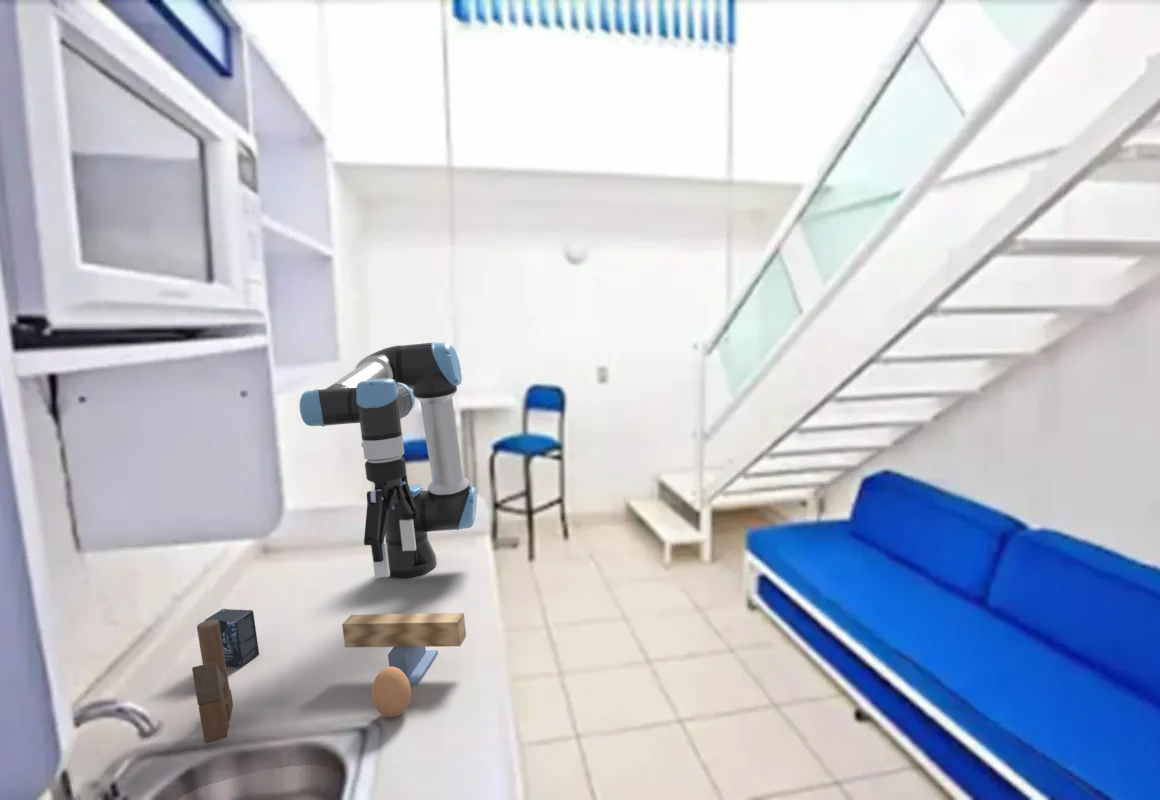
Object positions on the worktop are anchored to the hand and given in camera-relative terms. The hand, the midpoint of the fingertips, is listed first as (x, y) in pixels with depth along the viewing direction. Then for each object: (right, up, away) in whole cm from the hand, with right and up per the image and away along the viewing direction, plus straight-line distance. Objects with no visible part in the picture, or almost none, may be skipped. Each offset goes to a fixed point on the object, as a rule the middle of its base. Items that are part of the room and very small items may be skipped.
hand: (396, 562), depth 130 cm
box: (-38, -24, +12) cm, 47 cm away
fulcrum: (+2, -22, +3) cm, 23 cm away
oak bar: (+1, -16, +2) cm, 17 cm away
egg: (+3, -25, -12) cm, 28 cm away
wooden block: (-29, -27, -11) cm, 41 cm away
